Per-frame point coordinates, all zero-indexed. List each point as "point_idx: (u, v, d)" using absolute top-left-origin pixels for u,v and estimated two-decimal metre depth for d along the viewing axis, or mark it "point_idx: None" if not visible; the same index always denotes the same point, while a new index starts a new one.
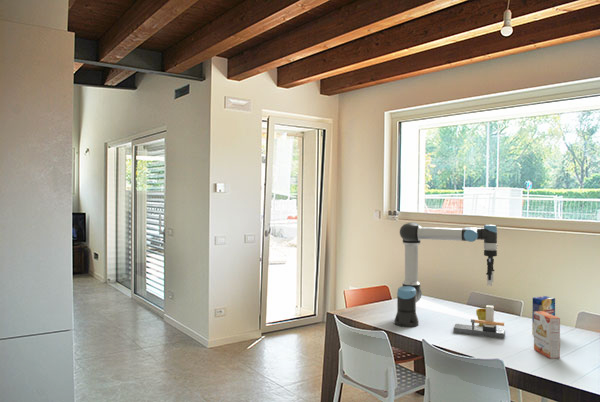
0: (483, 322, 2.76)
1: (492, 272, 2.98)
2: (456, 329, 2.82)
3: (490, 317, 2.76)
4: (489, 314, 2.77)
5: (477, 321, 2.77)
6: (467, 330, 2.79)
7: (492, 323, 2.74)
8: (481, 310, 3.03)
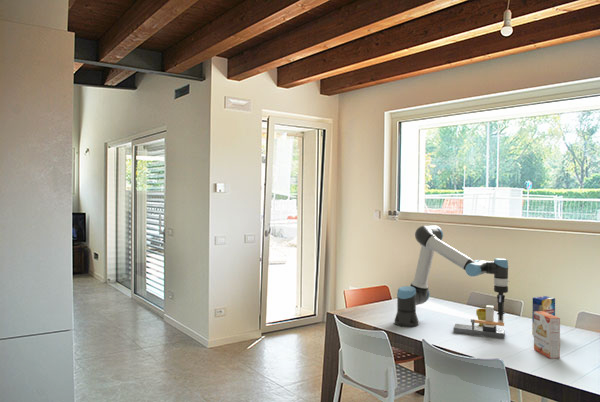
0: (483, 322, 2.76)
1: (502, 315, 2.73)
2: (456, 329, 2.82)
3: (490, 317, 2.76)
4: (489, 314, 2.77)
5: (477, 321, 2.77)
6: (467, 330, 2.79)
7: (492, 323, 2.74)
8: (481, 310, 3.03)
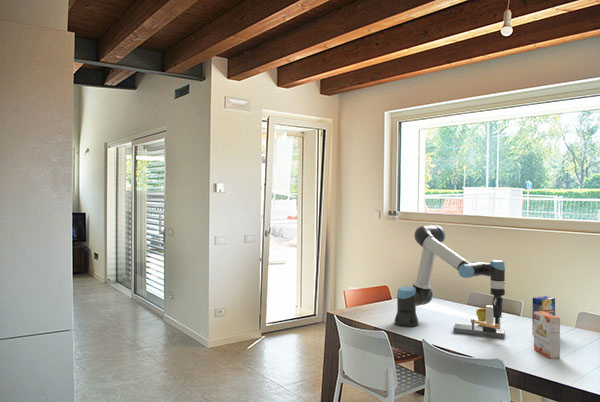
0: (480, 323, 2.74)
1: None
2: (456, 329, 2.82)
3: (490, 317, 2.76)
4: (489, 314, 2.77)
5: (475, 321, 2.76)
6: (467, 330, 2.79)
7: (487, 325, 2.69)
8: (481, 310, 3.03)
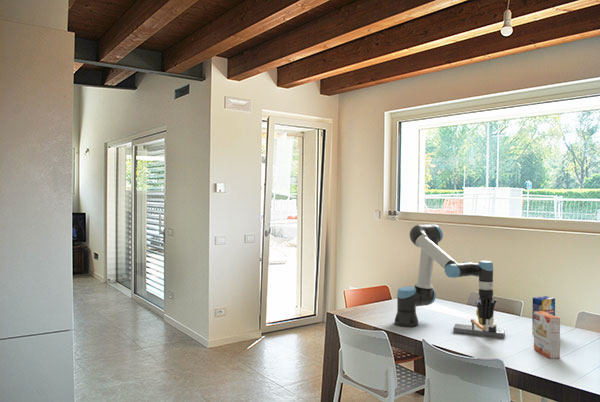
0: (475, 323, 2.73)
1: None
2: (456, 329, 2.82)
3: None
4: None
5: (473, 321, 2.76)
6: (467, 330, 2.79)
7: (478, 326, 2.68)
8: None
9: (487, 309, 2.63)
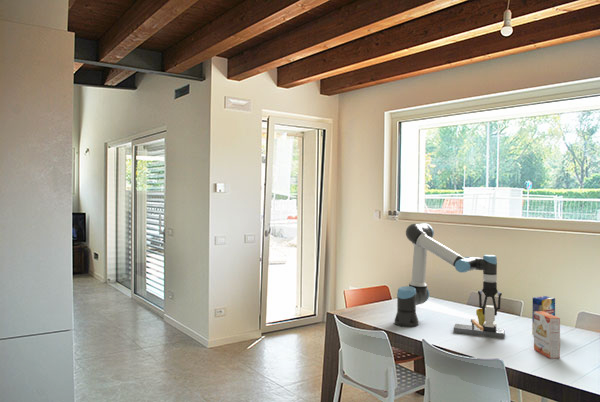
0: (474, 323, 2.73)
1: None
2: (456, 329, 2.82)
3: (490, 317, 2.76)
4: (489, 314, 2.77)
5: (473, 321, 2.76)
6: (467, 330, 2.79)
7: (477, 326, 2.68)
8: (481, 310, 3.03)
9: (486, 300, 2.80)
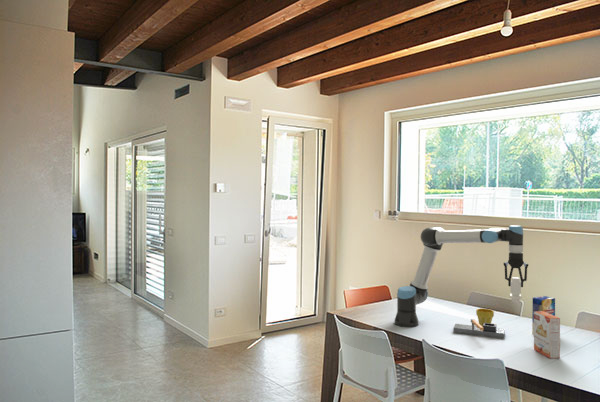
0: (474, 323, 2.73)
1: None
2: (456, 329, 2.82)
3: (517, 289, 2.70)
4: (515, 285, 2.70)
5: (473, 321, 2.76)
6: (467, 330, 2.79)
7: (477, 326, 2.68)
8: (481, 310, 3.03)
9: None
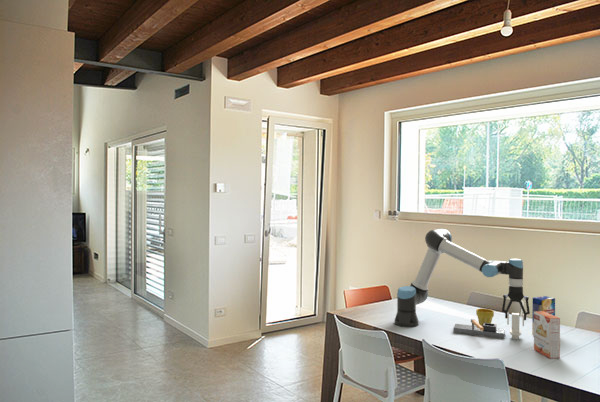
0: (474, 323, 2.73)
1: (508, 313, 2.75)
2: (456, 329, 2.82)
3: (517, 325, 2.70)
4: (515, 321, 2.71)
5: (473, 321, 2.76)
6: (467, 330, 2.79)
7: (477, 326, 2.68)
8: (481, 310, 3.03)
9: None
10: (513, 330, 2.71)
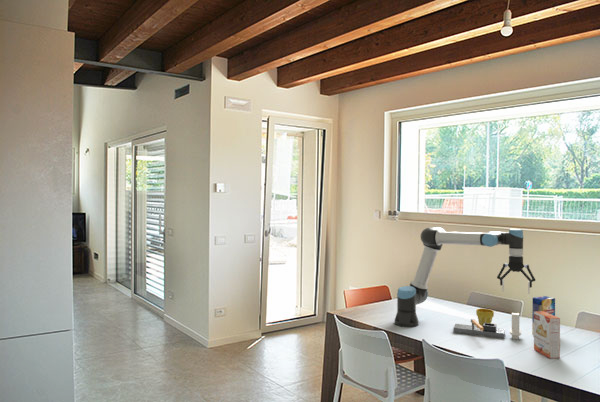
0: (474, 323, 2.73)
1: (503, 280, 2.76)
2: (456, 329, 2.82)
3: (517, 325, 2.70)
4: (515, 321, 2.71)
5: (473, 321, 2.76)
6: (467, 330, 2.79)
7: (477, 326, 2.68)
8: (481, 310, 3.03)
9: None
10: (513, 330, 2.71)
